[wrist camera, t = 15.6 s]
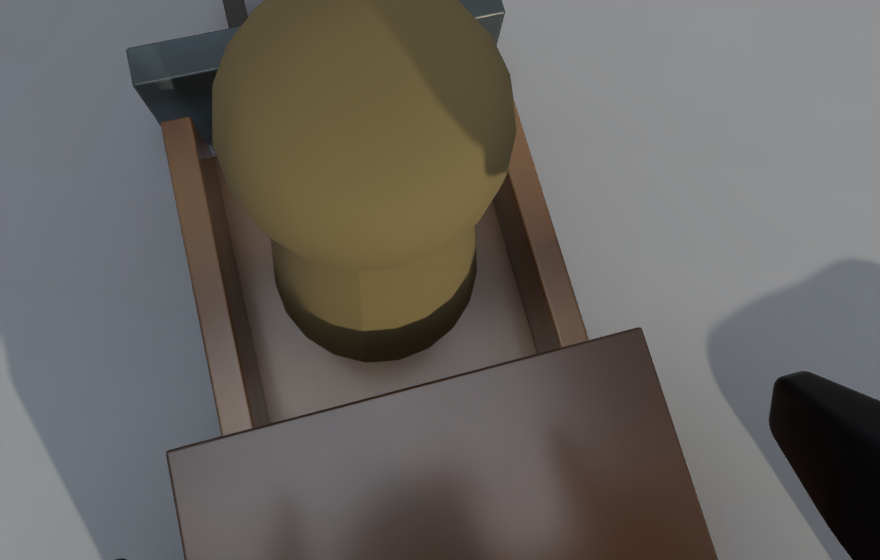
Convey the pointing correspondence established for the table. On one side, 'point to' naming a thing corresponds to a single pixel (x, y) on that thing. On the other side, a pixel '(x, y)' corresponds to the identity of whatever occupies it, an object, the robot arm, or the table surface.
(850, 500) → the robot arm
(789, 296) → the table surface
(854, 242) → the table surface
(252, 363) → the drawer
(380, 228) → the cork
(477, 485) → the cabinet
